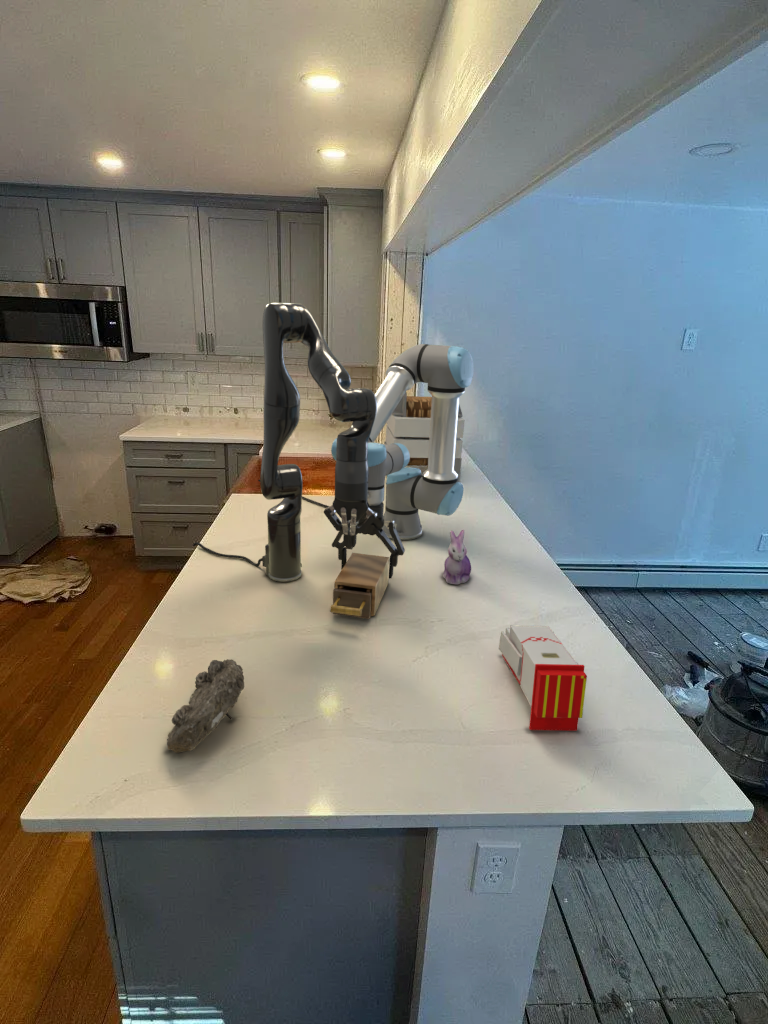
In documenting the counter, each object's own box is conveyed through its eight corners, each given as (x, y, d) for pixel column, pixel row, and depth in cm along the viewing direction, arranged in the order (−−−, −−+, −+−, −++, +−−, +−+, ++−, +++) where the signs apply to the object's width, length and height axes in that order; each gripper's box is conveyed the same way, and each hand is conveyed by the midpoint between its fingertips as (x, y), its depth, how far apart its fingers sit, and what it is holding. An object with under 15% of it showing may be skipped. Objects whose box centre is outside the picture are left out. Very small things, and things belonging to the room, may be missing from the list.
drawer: (363, 631, 137) (364, 607, 135) (325, 625, 139) (326, 601, 137) (383, 587, 159) (384, 566, 157) (350, 583, 161) (350, 562, 158)
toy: (545, 610, 133) (596, 671, 104) (540, 662, 136) (588, 737, 106) (494, 609, 133) (530, 670, 103) (490, 662, 135) (524, 736, 106)
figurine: (453, 588, 162) (457, 540, 157) (434, 573, 170) (437, 527, 165) (479, 582, 166) (485, 535, 161) (459, 568, 175) (464, 523, 170)
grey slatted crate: (382, 463, 289) (386, 382, 275) (445, 464, 293) (451, 384, 279) (390, 482, 257) (394, 392, 243) (460, 483, 261) (468, 394, 247)
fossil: (192, 660, 117) (244, 628, 112) (224, 691, 120) (276, 661, 115) (142, 746, 98) (202, 712, 93) (182, 779, 101) (242, 748, 96)
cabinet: (374, 616, 146) (375, 586, 143) (334, 610, 148) (334, 581, 145) (388, 584, 163) (389, 557, 160) (351, 579, 165) (352, 552, 162)
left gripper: (318, 479, 126) (318, 550, 132) (376, 485, 124) (373, 557, 130) (328, 470, 133) (327, 538, 139) (383, 476, 131) (380, 545, 137)
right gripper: (321, 500, 150) (320, 573, 157) (413, 510, 146) (408, 584, 153) (329, 492, 157) (328, 562, 164) (417, 502, 153) (413, 573, 160)
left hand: (349, 547), depth 134 cm, fingers closed
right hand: (367, 573), depth 159 cm, fingers open, 13 cm apart
